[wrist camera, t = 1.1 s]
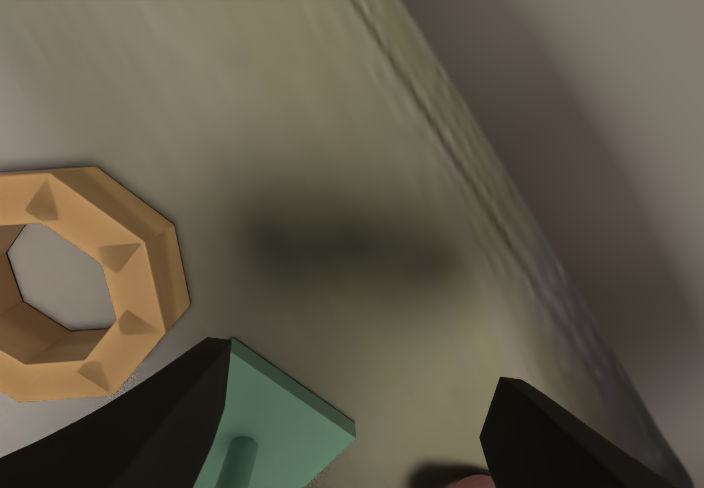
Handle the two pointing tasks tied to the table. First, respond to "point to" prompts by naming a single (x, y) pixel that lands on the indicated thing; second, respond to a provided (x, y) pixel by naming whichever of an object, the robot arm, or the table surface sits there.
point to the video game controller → (475, 482)
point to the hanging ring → (120, 273)
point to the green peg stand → (271, 430)
